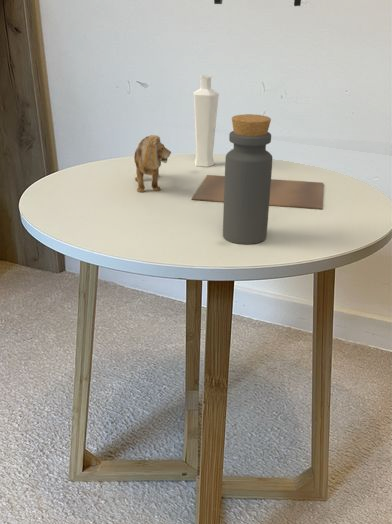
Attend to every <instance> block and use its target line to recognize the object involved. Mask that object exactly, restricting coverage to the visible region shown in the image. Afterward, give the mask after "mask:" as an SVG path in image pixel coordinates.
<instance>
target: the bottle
mask: <svg viewBox="0 0 392 524" xmlns="http://www.w3.org/2000/svg"><path fill="white" fill-rule="evenodd" d="M271 121H272V118H271V117H270V116H267V115H264V114H263V115H261V114H252V113H251V114H249V113H246V114H236V115H233V116H232V117H231V123H232V124H231V125H232V129H233V130H232V131H230V132H229V134H228V136H229V137H228V140H229V142H230V143H232V144H233V148H232V149H231V150H229V151H228V152H227V153H226V154H225V164H224V176H225V184H224V202H223V212H222V213H223V215H222V237H223V239H225V240H226V241H227V242H230V243H234V244H240V245H253V244H259V243H262V242H264V241H265V240H266V239H267V235H268V223H269V212H270V211H269V210H270V206H269V200H270V187H271V179H272V175H273V174H272V173H273V155H272V153H271V152H269V151H268V150H267V145H269V144H270V143H272V134H271V132H269V128H270V125H271Z"/></svg>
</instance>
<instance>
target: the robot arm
mask: <svg viewBox="0 0 392 524" xmlns="http://www.w3.org/2000/svg"><path fill="white" fill-rule="evenodd" d="M293 1H294V2H293V6H294V7H301V4H302V3H301V2H302V0H293ZM213 3H214V5H223V0H213Z"/></svg>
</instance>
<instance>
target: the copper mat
mask: <svg viewBox="0 0 392 524" xmlns="http://www.w3.org/2000/svg"><path fill="white" fill-rule="evenodd" d="M224 184H225V175H217V174H216V175H215V174H213V175H212V174H207V175H206V176H205V178H204V179H203V180H202V182H201V184H200V185H199V186H198V188H197V189H196V191H195V193H194V194H193V196H192V197H191V201H203V202H215V203H224ZM323 195H324V182H321V181H320V182H318V181H304V180H302V181H301V180H292V179H291V180H288V179H287V180H286V179H274V178H271V187H270V200H269V207H270V206H271V207H284V208H298V209H312V210H323Z"/></svg>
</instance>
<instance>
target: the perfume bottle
mask: <svg viewBox="0 0 392 524" xmlns="http://www.w3.org/2000/svg"><path fill="white" fill-rule="evenodd" d="M212 78H213V76H211V75H199V81H200V82H199V87H200V88H198V89H196V90H195V91H193V93H192V95H193V114H194V115H193V116H194V138H195V139H194V140H195V157H194V161H193V162H194V166H195V167H205V168H209V167H212V166H213V165H215V160H214V146H215V136H216V125H217V117H218V116H217V115H218V106H219V94H220V93H218V92H217V91H216V90H214V89H212Z"/></svg>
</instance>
